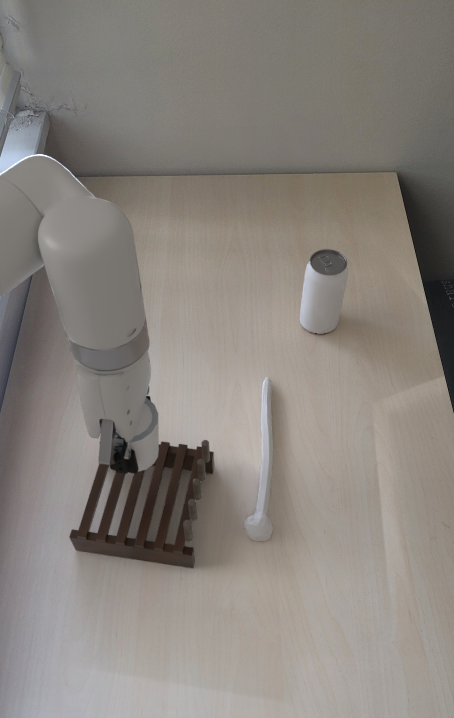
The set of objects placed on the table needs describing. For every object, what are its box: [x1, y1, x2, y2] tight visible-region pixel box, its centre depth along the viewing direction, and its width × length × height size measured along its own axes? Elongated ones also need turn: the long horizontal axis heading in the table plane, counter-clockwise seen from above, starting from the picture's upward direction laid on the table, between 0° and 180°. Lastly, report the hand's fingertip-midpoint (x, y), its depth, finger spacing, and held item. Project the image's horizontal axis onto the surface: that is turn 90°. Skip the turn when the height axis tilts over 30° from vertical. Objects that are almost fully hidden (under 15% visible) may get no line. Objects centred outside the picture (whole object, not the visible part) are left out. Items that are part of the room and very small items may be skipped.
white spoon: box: [242, 376, 274, 542], centre depth 91 cm, size 28×4×3 cm, turn 178°
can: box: [298, 248, 349, 335], centre depth 100 cm, size 6×6×12 cm
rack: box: [68, 439, 215, 569], centre depth 85 cm, size 16×16×9 cm
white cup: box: [115, 398, 160, 472], centre depth 74 cm, size 7×7×7 cm
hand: (132, 442), depth 75 cm, fingers closed on white cup, 6 cm apart
